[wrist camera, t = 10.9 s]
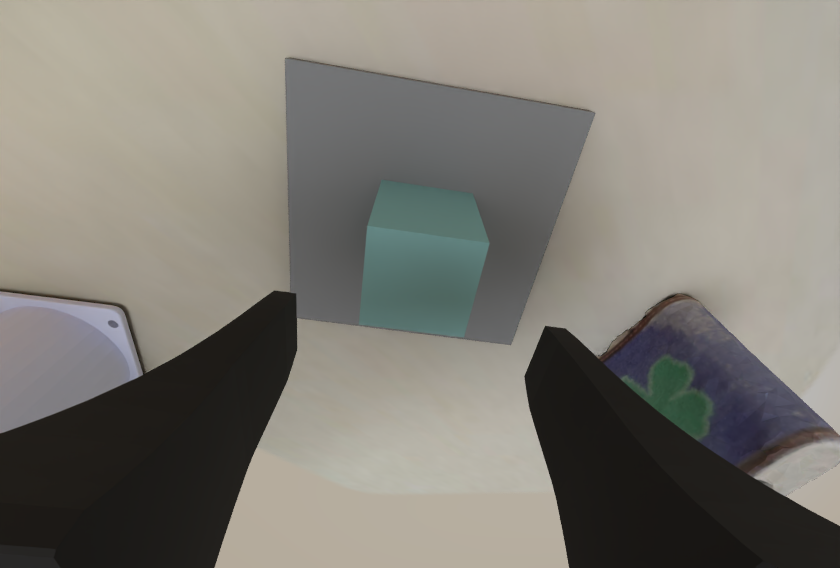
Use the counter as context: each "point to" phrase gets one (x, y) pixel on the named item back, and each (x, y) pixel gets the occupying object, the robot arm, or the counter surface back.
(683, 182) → the counter surface
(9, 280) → the counter surface
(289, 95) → the mat
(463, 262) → the teal block
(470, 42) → the counter surface
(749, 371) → the flask
